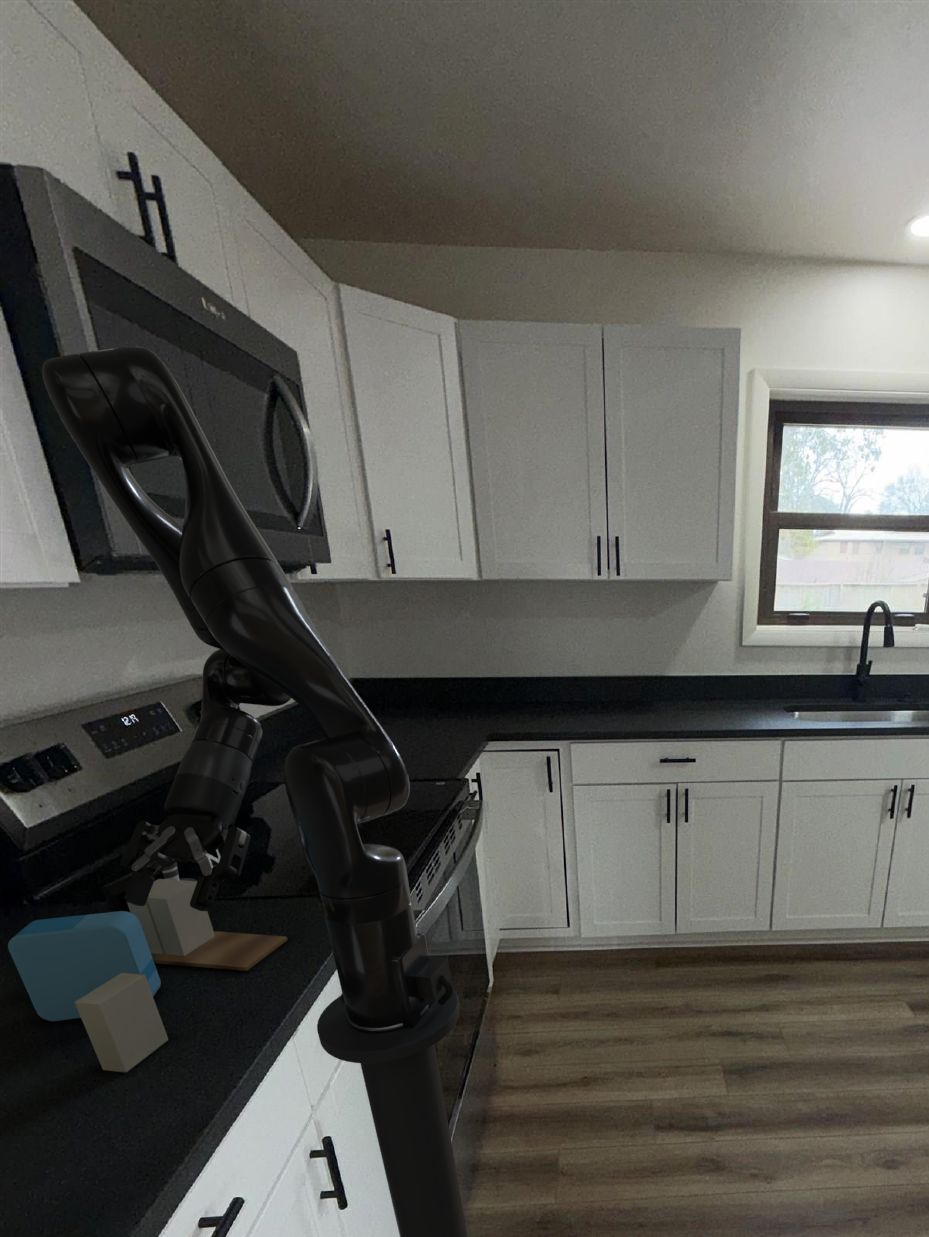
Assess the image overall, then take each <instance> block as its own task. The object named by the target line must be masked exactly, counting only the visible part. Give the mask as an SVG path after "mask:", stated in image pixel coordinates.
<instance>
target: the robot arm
mask: <svg viewBox="0 0 929 1237" xmlns="http://www.w3.org/2000/svg"><path fill="white" fill-rule="evenodd" d="M41 374H42V379H43V380H42V381H43V383H44V386H45V389H46V391H47V394H48V397H49V398H50V401H51V403H52V404H53V406H54V408H55V411H56V412H57V414H58V416H59V418H60V420H61V421H62V423H63V425H64V427H65V429H66V430H67V432H68V434H69V435H70V437H71V438H72V440H73V442H74V443H75V445H76V447H77V448H78V449H79V451H80V452H81V454H82V456H83V457H84V459H85V460H86V462H87V463H88V465H89V467H90V469H91V470H92V471H93V474H95V476H96V478H97V479H98V481H99V482H100V484H101V485H102V487H103V488H104V490H105V491H106V493H107V494H108V496H109V497H110V499H111V501H112V502H113V503H114V505H115V507H116V508H117V509H118V511H119V513H120V514H121V516H122V517H123V518H124V520H125V521H126V523H127V524H128V526H129V527H130V529H131V530H132V531H133V533H134V535H135V536H136V537H137V538H138V540H139V541H140V543H141V545H143V547H144V548H145V550H146V551H147V553H148V554H149V556H150V557H151V559H152V560H153V561H154V562H155V565H156V566H157V568H158V569H159V571H160V572H161V574H162V576H163V578H164V579H165V581H166V583H167V584H168V586H169V587H170V589H171V591H172V593H173V595H174V597H175V598H176V600H177V602H178V605H179V606H180V608H181V610H182V612H183V614H184V616H185V618H186V620H187V621H188V623H189V625H190V627H191V629H192V630H193V632H194V634H195V635H196V637H197V638H198V639H199V640H200V641H202V643H204V644H206V645H207V646H210V647H213V648H216V649H217V650H214V651H213V653H211V654H210V655H209V656H208V658H207V659H206V660H205V662H204V664H203V669H202V692H201V693H202V696H201V712H200V719H199V722H198V724H197V726H196V729H195V731H194V734H193V737H192V739H191V742H190V744H189V746H188V748H187V750H186V751H185V753H184V755H183V757H182V758H181V761H180V764H179V766H178V769H177V771H176V774H175V777H174V779H173V781H172V784H171V787H170V789H169V791H168V793H167V794H168V795H167V796H166V799H165V803H164V806H163V807H164V810H165V816H166V817H165V818H164V821H162V823H160V825H157V824H151V823H149V822H147V821H145V820H140V821H139V822H137V823H136V826H135V828H134V831H133V832H132V835H131V837H130V839H129V841H128V843H127V846H126V848H125V850H124V852H123V854H122V857H121V858H120V862H119V863H120V865H122V866H124V867H126V868H128V869H130V870H131V871H132V872H133V874H132V877H131V880H130V882H129V886H128V887H127V890H126V892H125V897H126V901H127V902H128V903H131V904H133V905H136V906H144V905H145V904H146V901H147V899H148V896H149V893H150V891H151V888H152V885H153V883H154V880H155V879H154V878H153V877H154V876H156V875H157V874H158V873H159V872H160V871H161V870H163V869H164V868H165V867H170V866H172V865H173V864H174V863H186V862H192V863H194V864H198V865H199V868H200V871H201V873H202V875H203V876H198V879H197V884H196V887H195V890H194V892H193V895H192V898H191V901H190V906H191V907H192V908H194V909H197V910H199V911H207V912H208V911H209V910H210V908H211V907H212V906H213V904H214V902H215V900H216V897H217V894H218V890H219V888H220V885H221V883H224V882H225V881H226V880H229V879H233V880H237V879H238V878H240V876H241V874H242V870H243V865H244V863H245V859H246V856H247V852H248V849H249V846H250V841H251V835H250V834H249V833H247V832H246V831H245V830H243V829H241V828H239V827H237V826H236V825H235V823H236V820H237V817H238V814H239V811H240V808H241V806H242V803H243V800H244V796H245V795H246V791H247V788H248V785H249V782H250V778H251V772H252V767H253V764H254V762H255V758H256V756H257V752H258V750H259V746H260V745H261V741H262V737H263V727H262V724H261V722H260V721H259V720H258V719H257V718H256V717H254V715H252V714H250V713H249V712H246V711H244V710H242V709H239V706H240V704H245V705H255V706H264V707H281V706H283V705H285V704H287V703H288V702H290V701H291V700H293V701H294V702H295V703H296V704H298V705H299V706H300V707H301V708H302V709H303V711H305V712H306V713H307V715H309V716H310V718H311V719H312V720H313V721H314V723H315V724H316V726H317V727H318V728H319V729H320V731H321V732H322V734H323V735H324V736H325V738H323V739H320V740H315V741H311V742H307V743H302V744H299V745H297V746H295V747H293V748H292V749H291V750H289V752H288V753H287V755H286V756H285V760H284V764H283V780H284V786H285V791H286V795H287V798H288V802H289V806H290V809H291V813H292V816H293V819H294V822H295V825H296V828H297V829H296V830H297V832H298V835H299V839H300V843H301V846H302V850H303V854H304V857H305V858H306V862H307V865H308V866H309V867H310V870H311V872H312V874H313V876H314V878H315V881H316V884H317V889H318V892H319V898H320V901H321V906H322V910H323V913H324V919H325V923H326V928H327V931H328V936H329V942H330V945H331V950H332V955H333V959H334V964H335V967H336V972H337V976H338V982H339V985H340V989H341V994H340V1000H341V1005H342V1006H343V1004H344V1002H345V1007H346V1011H347V1020H348V1023H349V1025H350V1026H351V1027H352V1028H354V1029H355V1030H357V1031H360V1032H364V1033H386V1032H392V1031H396V1030H399V1029H403V1028H410V1029H412V1028H414V1027H415V1026H416V1025H417V1023H418V1022H419V1021H420V1020H421V1018H422V1017H423V1016H424V1015H425V1014H426V1013H427V1011H428V1010H429V1008H430V1007H431V1006H432V1005H433V1003H434V1002H435V1001H436V998H435V997H436V996H437V994H438V993H439V992H440V991H441V989H442V988H443V987H445V989H446V992H445V994H444V995H443V996H442V997H441V998H440V999H439V1001H438V1003H439V1004H440V1005H444V1004H445V1003H446V1001H448V1000H449V998H450V997H451V996H452V994H453V989H454V986H453V985H452V983H451V982H450V980H451V977H452V976H451V970H450V969H451V968H450V964H449V963H450V962H449V957H448V956H447V957H445V956H434V955H433V956H432V955H430V956H429V951H428V944H427V938H426V935H425V933H423V932H418V930H417V924H416V918H415V913H414V908H413V907H414V906H413V901H412V895H411V894H412V893H411V889H410V883H409V877H408V872H407V871H408V870H407V864H406V859H405V857H404V856H403V854H402V852H401V851H400V850H399V849H397V848H395V847H392V846H388V845H386V844H385V845H384V844H378V843H363V840H362V838H361V835H360V831H359V828H358V826H359V825H362V824H365V823H368V822H370V821H373V820H376V819H380V818H383V817H385V816H388V815H390V814H392V813H395V812H397V811H399V810H401V809H403V807H404V806H405V805H406V804H407V803H408V801H409V798H410V793H411V784H410V777H409V774H408V771H407V768H406V765H405V763H404V761H403V758H402V756H401V755H400V752H399V751H398V748H397V747H396V746H395V744H394V743H393V741H392V740H391V737H390V736H389V735H388V734H387V732H386V731H385V729H384V728H383V727H382V725H381V724H380V722H379V721H378V719H377V718H376V716H374V714H373V712H372V711H371V710H370V708H369V706H367V704H366V703H365V702H364V700H363V699H362V697H361V696H360V695H359V693H358V691H357V690H356V689H355V687H354V686H353V685H352V683H351V682H350V680H349V679H348V678H347V676H346V675H345V673H344V671H343V670H342V668H341V667H340V665H339V663H338V662H337V660H336V659H335V658H334V656H333V654H332V652H331V651H330V649H329V647H328V646H327V644H326V643H325V641H324V639H323V637H322V636H321V635H320V633H319V632H318V630H317V628H316V626H315V625H314V623H313V622H312V620H311V618H310V617H309V614H308V612H307V610H306V609H305V606H304V605H303V603H302V601H301V600H300V597H299V596H298V594H297V592H296V591H295V589H294V587H293V585H292V583H291V581H290V580H289V579H288V577H287V575H286V573H285V572H284V569H283V568H282V566H281V565H280V563H279V562H278V560H277V558H276V557H275V555H274V554H273V552H272V551H271V549H270V547H269V546H268V544H267V543H266V541H265V539H264V538H263V536H262V535H261V533H260V531H259V530H258V528H257V527H256V525H255V523H254V522H253V520H252V519H251V517H250V516H249V514H248V512H247V511H246V508H245V507H244V506H243V503H241V501H240V498H239V497H238V495H237V493H236V492H235V490H234V489H233V487H232V485H231V483H230V481H229V479H228V477H227V476H226V473H225V472H224V469H223V467H222V466H221V464H220V462H219V459H218V458H217V456H216V454H215V452H214V450H213V448H212V446H211V444H210V443H209V440H208V438H207V436H206V435H205V433H204V431H203V429H202V427H201V425H200V423H199V420H198V419H197V417H196V415H195V413H194V411H193V409H192V407H191V406H190V403H189V402H188V400H187V398H186V397H185V394H184V393H183V391H182V388H181V387H180V385H179V383H178V382H177V380H176V379H175V377H174V376H173V374H172V372H171V371H170V369H169V368H168V367H167V365H166V364H165V362H163V360H162V359H161V358H160V357H159V356H158V355H157V354H156V353H155V352H153V351H152V350H151V349H149V348H146V347H143V346H123V347H114V348H113V347H112V348H107V349H99V350H94V351H93V350H92V351H85V352H80V353H79V354H78V353H73V354H66V355H61V356H55V357H52V358H48V359H46V360H45V361H44V362H43V363H42V366H41ZM173 457H174V458H177V459H179V460H180V461H181V466H182V468H183V476H184V477H183V478H184V484H185V486H184V487H185V488H184V489H185V509H184V515H183V516H184V517H183V525H182V524H181V523H180V522H179V521H177V520H176V519H175V518H173V517H172V516H171V515H170V514H169V513H167V512H166V511H165V510H164V509H162V508H161V507H160V506H159V505H158V504H157V503H156V502H155V501H154V500H152V499H151V498H150V496H149V495H148V494H147V493H146V492H145V491H144V490H143V488H142V486H140V484H139V483H138V482H137V480H136V479H135V477H134V476H133V474H132V472H131V471H130V469H129V467H132V466H137V465H139V464H145V463H149V462H152V461H158V460H163V459H168V458H169V459H170V458H173ZM221 847H222V850H221V854H220V851H219V849H220V848H221ZM161 851H163V853H164V854H162V853H160V852H161ZM137 853H139V854H138V856H137ZM136 856H137V858H136ZM135 858H136V859H135ZM155 861H156V862H155ZM153 862H155V863H153ZM151 863H153V864H152V865H151V866H150V867H149V866H148V865H149V864H151Z"/></svg>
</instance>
